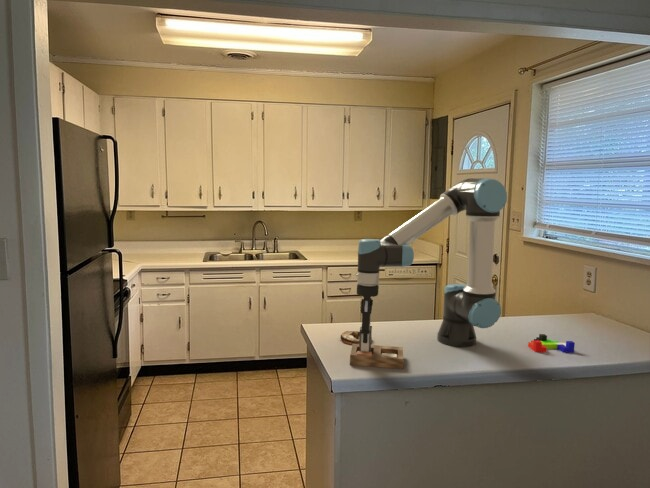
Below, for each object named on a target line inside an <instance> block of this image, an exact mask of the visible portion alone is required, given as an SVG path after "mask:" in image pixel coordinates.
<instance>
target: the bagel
mask: <svg viewBox="0 0 650 488" xmlns="http://www.w3.org/2000/svg"><path fill="white" fill-rule="evenodd" d="M359 337H360V331H359V330H356V331H353V330H352V331H350V330H346V331H344V332H342V333H341V334H340V340H339V342H342V343H343V344H345V345H347V344H348V345H352V346H353V344H359ZM372 339H373V337H372V336H371V343H372Z"/></svg>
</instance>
